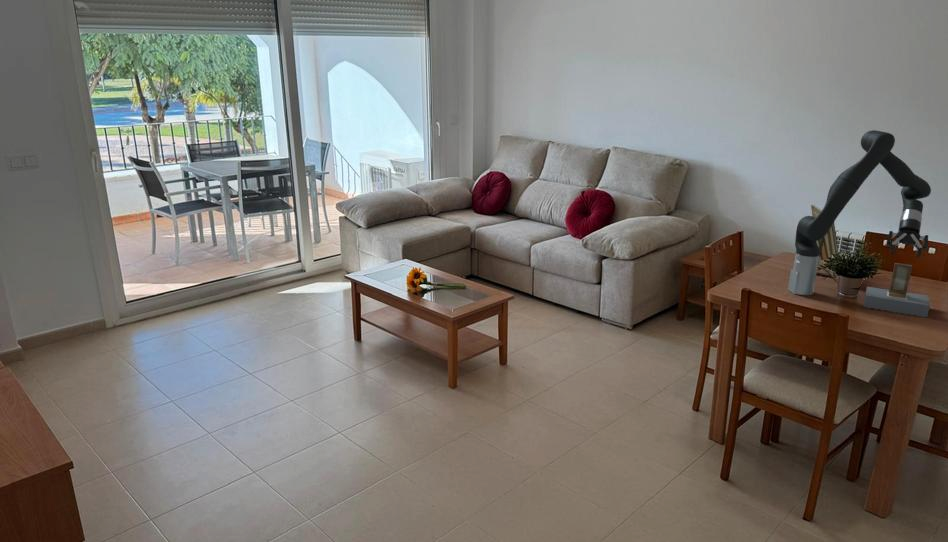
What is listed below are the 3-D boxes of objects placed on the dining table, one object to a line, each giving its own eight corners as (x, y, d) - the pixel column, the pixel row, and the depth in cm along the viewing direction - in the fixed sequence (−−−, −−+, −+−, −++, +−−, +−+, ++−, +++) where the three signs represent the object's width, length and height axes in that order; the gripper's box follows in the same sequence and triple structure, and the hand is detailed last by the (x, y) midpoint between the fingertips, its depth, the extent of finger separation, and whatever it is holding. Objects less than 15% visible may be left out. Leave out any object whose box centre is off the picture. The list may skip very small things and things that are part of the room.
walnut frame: (888, 291, 280) (894, 261, 276) (905, 294, 277) (911, 263, 273) (888, 295, 275) (894, 265, 271) (905, 298, 272) (912, 267, 268)
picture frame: (842, 285, 305) (854, 219, 296) (818, 283, 307) (829, 218, 298) (822, 265, 336) (832, 205, 327) (800, 263, 338) (810, 204, 329)
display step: (863, 307, 277) (865, 295, 276) (864, 297, 289) (867, 286, 287) (927, 317, 266) (929, 305, 265) (926, 307, 278) (928, 295, 276)
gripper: (891, 215, 283) (885, 248, 277) (932, 220, 276) (927, 253, 270) (889, 225, 289) (883, 257, 283) (929, 230, 282) (924, 263, 276)
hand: (904, 255), depth 276 cm, fingers open, 8 cm apart
